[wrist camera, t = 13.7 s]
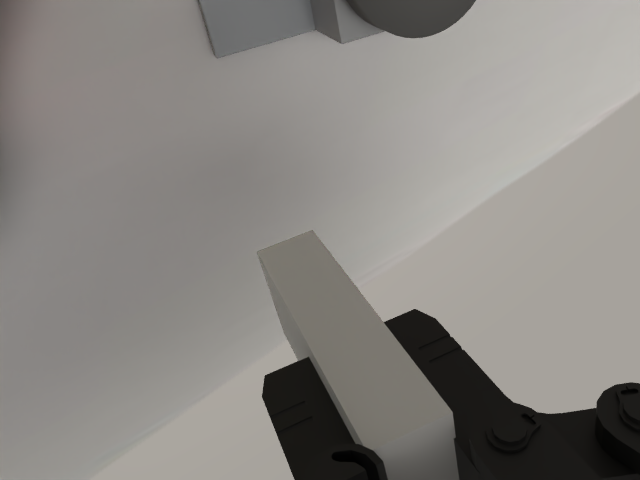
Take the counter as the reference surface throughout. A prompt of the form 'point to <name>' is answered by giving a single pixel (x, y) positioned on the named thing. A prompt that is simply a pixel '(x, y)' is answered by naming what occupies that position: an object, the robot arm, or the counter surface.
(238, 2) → the grey tray
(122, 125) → the counter surface
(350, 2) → the wheel cap
